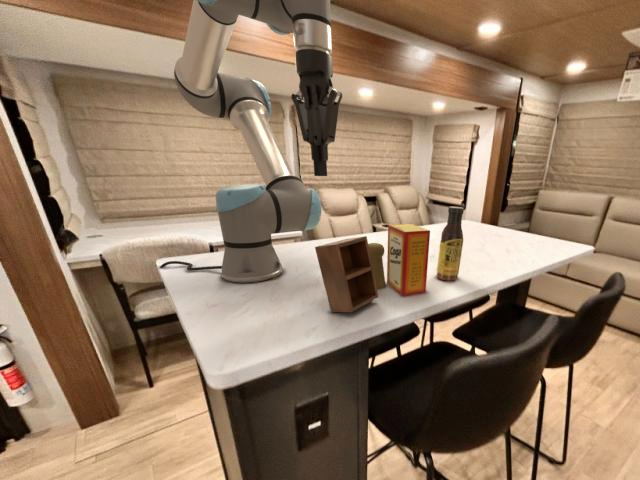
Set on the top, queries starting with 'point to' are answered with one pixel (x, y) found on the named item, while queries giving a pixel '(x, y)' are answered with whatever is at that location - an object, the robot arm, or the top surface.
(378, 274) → the cork
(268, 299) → the top surface
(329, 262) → the walnut shelf
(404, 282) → the baking soda box
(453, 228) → the sauce bottle
